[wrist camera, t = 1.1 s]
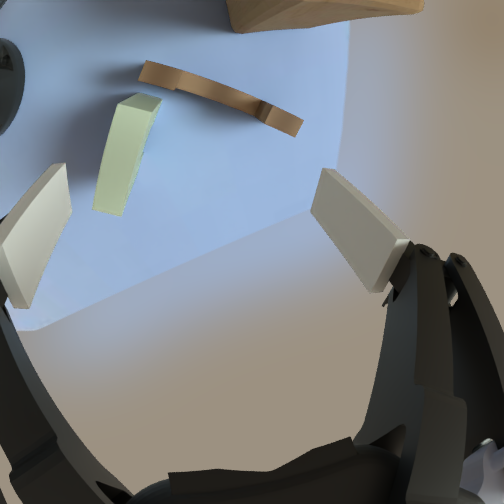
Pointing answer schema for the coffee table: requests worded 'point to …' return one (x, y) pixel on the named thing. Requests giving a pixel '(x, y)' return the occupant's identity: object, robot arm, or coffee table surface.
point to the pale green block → (124, 152)
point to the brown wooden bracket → (220, 95)
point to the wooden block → (310, 12)
